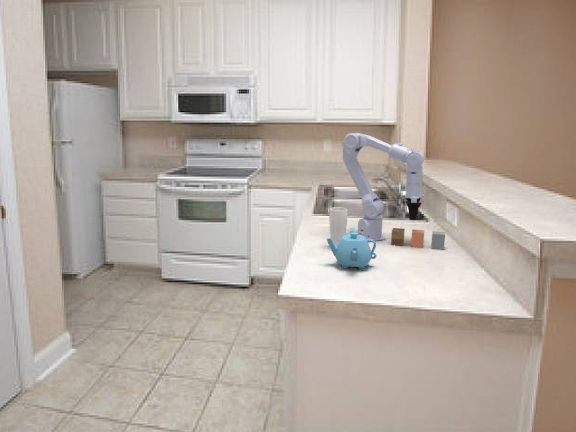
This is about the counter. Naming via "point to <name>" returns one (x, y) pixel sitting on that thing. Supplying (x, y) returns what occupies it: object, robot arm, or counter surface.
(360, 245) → the teapot
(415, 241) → the terracotta block
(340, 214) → the drinking glass
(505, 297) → the counter surface
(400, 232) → the walnut block
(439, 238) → the slate block
